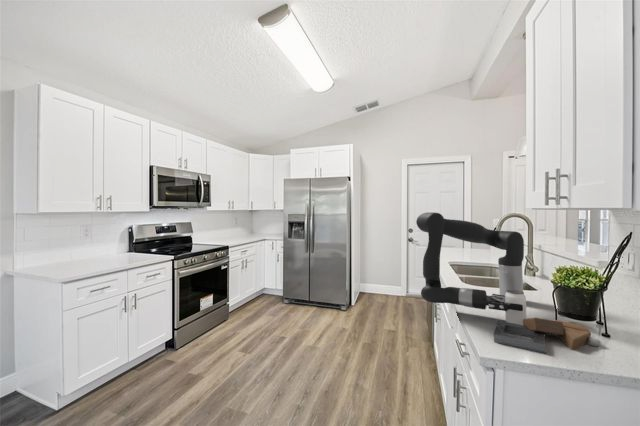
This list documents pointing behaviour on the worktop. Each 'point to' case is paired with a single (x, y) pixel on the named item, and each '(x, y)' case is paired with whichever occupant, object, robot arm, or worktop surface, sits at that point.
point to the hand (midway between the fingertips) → (522, 305)
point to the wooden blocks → (563, 331)
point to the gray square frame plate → (519, 337)
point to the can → (515, 298)
